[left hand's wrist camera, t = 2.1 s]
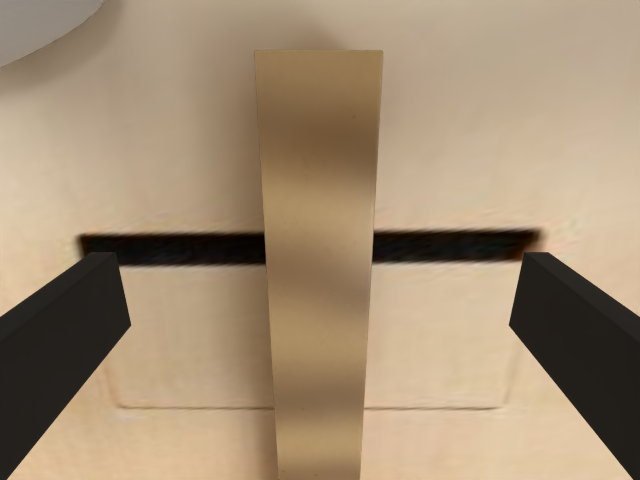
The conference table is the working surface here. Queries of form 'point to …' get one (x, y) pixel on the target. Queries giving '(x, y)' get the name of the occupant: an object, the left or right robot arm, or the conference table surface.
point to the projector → (38, 24)
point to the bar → (318, 248)
